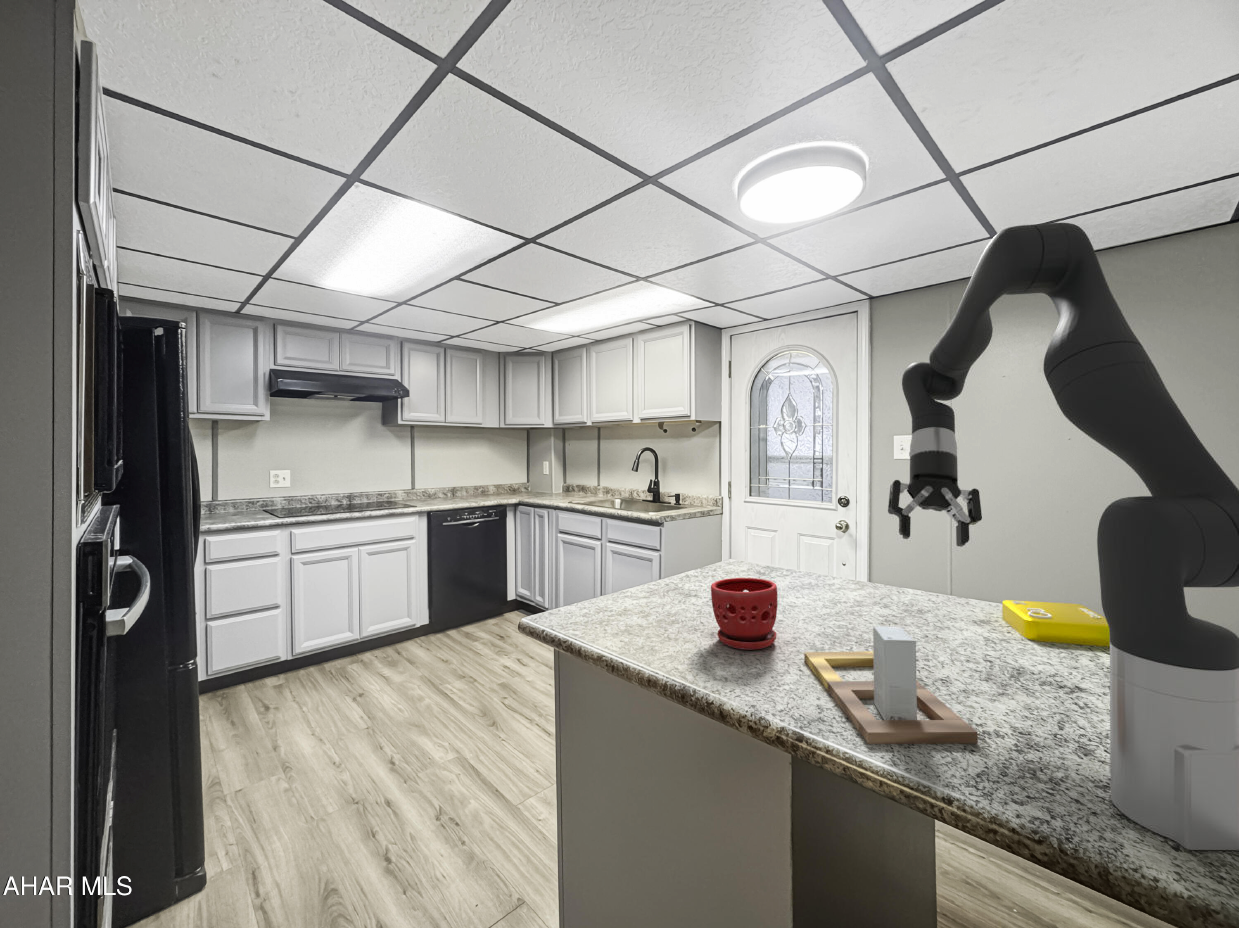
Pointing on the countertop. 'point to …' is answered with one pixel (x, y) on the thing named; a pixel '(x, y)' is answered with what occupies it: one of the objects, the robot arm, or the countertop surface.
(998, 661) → the countertop surface
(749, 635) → the plant pot
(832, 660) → the double wooden frame
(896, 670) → the skincare box
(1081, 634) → the element tile
